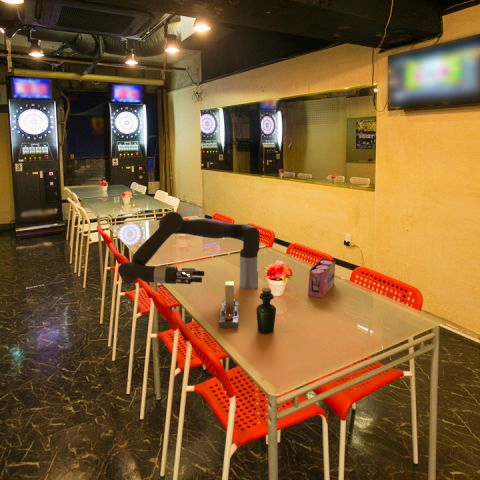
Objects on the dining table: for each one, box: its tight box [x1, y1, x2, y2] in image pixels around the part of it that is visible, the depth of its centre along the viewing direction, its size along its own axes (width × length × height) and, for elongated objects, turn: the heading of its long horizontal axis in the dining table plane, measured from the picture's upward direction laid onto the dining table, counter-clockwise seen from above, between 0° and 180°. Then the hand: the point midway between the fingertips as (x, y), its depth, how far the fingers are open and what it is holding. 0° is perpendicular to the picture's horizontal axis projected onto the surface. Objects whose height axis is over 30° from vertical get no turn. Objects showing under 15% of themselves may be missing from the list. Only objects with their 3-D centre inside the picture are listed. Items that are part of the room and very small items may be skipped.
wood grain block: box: [224, 280, 235, 314], centre depth 182 cm, size 5×4×13 cm
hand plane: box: [218, 297, 240, 329], centre depth 184 cm, size 22×8×5 cm, turn 179°
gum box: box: [307, 258, 336, 299], centre depth 216 cm, size 24×8×14 cm, turn 153°
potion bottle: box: [255, 287, 277, 335], centre depth 170 cm, size 8×8×18 cm
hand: (203, 276), depth 180 cm, fingers open, 8 cm apart
